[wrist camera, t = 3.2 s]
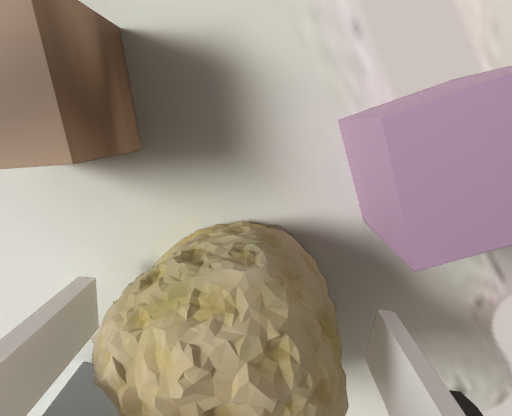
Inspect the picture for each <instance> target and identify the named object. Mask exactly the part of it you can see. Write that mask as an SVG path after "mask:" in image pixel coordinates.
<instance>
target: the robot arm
mask: <svg viewBox="0 0 512 416" xmlns="http://www.w3.org/2000/svg"><path fill="white" fill-rule="evenodd" d="M98 328H99V324H98V309H97V293H96V278H90V277H81V276H79V277H78V278H76V279H75V280H74V281H73V282H71V283H70V284H69V285H68V286H67V287H65V288H64V289H63V290H62V291H60V292H59V293H58V294H57V295H55V296H54V297H53V298H52V299H50V300H49V301H48V302H47V303H45V304H44V305H43V306H42V307H41V308H39V309H38V310H37V311H36V312H34V313H33V314H32V315H31V316H29V317H28V318H27V319H26V320H24V321H23V322H22V323H21V324H19V325H18V326H17V327H16V328H15V329H13V330H12V331H11V332H10V333H8V334H7V335H6V336H5V337H3V338H2V339H1V340H0V416H26V415H27V414H28V413H29V411H30V410H31V409H32V408H33V407H34V405H35V404H36V403H37V402H38V401H39V399H40V398H41V397H42V396H43V395H44V393H45V392H46V391H47V390H48V389H49V387H50V386H51V385H52V384H53V382H54V381H55V380H56V379H57V378H58V376H59V375H60V374H61V373H62V372H63V370H64V369H65V368H66V367H67V366H68V364H69V363H70V362H71V361H72V359H73V358H74V357H75V356H76V355H77V353H78V352H79V351H80V350H81V349H82V347H83V346H84V345H85V344H86V343H87V341H88V340H89V339H90V338H91V336H92V335H93V334H94V333H95V332H96V330H97V329H98ZM365 359H366V361H367V363H368V366H369V368H370V371H371V373H372V375H373V378H374V380H375V382H376V385H377V387H378V389H379V392H380V394H381V396H382V399H383V401H384V403H385V406H386V408H387V410H388V413H389V415H390V416H483V415H482V413H481V412H480V411H479V409H478V408H477V407H476V406H475V405H474V404H473V403H472V402H471V401H470V400H469V399H468V398H467V397H465V396H464V395H463V394H462V393H461V392H459V391H450V390H448V389H447V387H446V386H445V384H444V383H443V381H442V380H441V379H440V377H439V376H438V374H437V373H436V371H435V370H434V368H433V367H432V365H431V364H430V363H429V361H428V360H427V358H426V357H425V355H424V354H423V352H422V351H421V349H420V348H419V347H418V345H417V344H416V342H415V341H414V339H413V338H412V336H411V335H410V334H409V332H408V331H407V329H406V328H405V326H404V325H403V323H402V322H401V320H400V319H399V318H398V316H397V315H396V313H395V312H394V311H388V310H379V309H377V313H376V317H375V321H374V325H373V328H372V332H371V336H370V340H369V344H368V347H367V351H366V355H365Z"/></svg>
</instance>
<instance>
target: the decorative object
mask: <svg viewBox="0 0 512 416" xmlns="http://www.w3.org/2000/svg"><path fill="white" fill-rule="evenodd" d="M91 339H92V341H93V343H94V347H93V354H92V363H93V368H94V371H95V378H94V383H93V385H96V386H99V387H100V388H101V389H102V390H103V391H104V393H105V394H106V396H107V397H108V399H109V400H110V401H111V402H112V403H113V404H114V406H115V408H116V410H117V411H118V414H119V416H345V415H346V412H347V410H348V407H349V406H348V399H347V392H346V374H345V372H344V370H343V368H342V365H341V354H342V347H341V342H340V336H339V332H338V327H337V319H336V306H335V304H334V303H333V302H332V301H331V300H330V299H329V295H328V285H327V282H326V278H325V277H324V276H323V275H322V274H321V273H320V271H319V269H318V265H317V261H316V260H315V259H314V258H313V257H312V256H310V255H309V254H308V253H307V252H306V251H305V250H304V249H303V247H302V246H301V245H300V244H299V243H298V242H297V241H296V240H295V239H294V238H293V237H291V236H290V235H289V234H287V233H286V232H285V231H283V230H282V229H281V228H280V227H279V226H278V225H269V226H268V227H266V226H264V225H261V224H251V223H247V222H244V221H239V222H235V223H232V224H230V225H222V224H217V225H214V226H212V227H208V228H204V229H200V230H197V231H196V232H195V233H193V234H191V235H189V236H187V237H186V238H184V239H182V240H181V241H179V242H178V243H177V244H175V245H174V246H173V247H172V248H171V249H170V250H168V251H167V252H166V253H165V254H164V255H163V256H162V257H161V258H160V259H159V261H158V262H157V263H156V264H155V266H154V267H153V268H152V269H151V270H150V271H148V272H147V273H142V274H141V275H139V276H138V277H137V278H136V279H135V281H134V282H132V283H130V284H129V285H128V286H127V287H126V288H125V290H124V291H123V293H122V294H121V296H120V298H119V300H116V301H113V306H111V307H110V308H109V310H108V311H107V313H106V315H105V317H104V319H103V321H102V324H101V326H100V328H99V330H98V332H97V333H96V334H95V335H94V336H93V337H92V338H91Z"/></svg>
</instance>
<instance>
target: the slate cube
mask: <svg viewBox="0 0 512 416" xmlns="http://www.w3.org/2000/svg"><path fill="white" fill-rule="evenodd" d="M94 378H95V371H94V368H93V364H90V363H87V362H83V363H82V364H81V366H80V367H79V368H78V370H77V371H76V372H75V373H74V375H73V376H72V377H71V379H70V380H69V381H68V383H67V384H66V385H65V387H64V388H63V389H62V390H61V392H60V393H59V394H58V396H57V397H56V398H55V400H54V401H53V402H52V404H51V405H50V406H49V407H48V409H47V410H46V411H45V413H44V414H43V415H42V416H119V414H118V411H117V410H116V408H115V406H114V404H113V403H112V402H111V401H110V400H109V399H108V397H107V396H106V394H105V393H104V391H103V390H102V389H101V388H100V387H99V386H96V385H93V383H94Z"/></svg>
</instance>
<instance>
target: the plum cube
mask: <svg viewBox="0 0 512 416" xmlns="http://www.w3.org/2000/svg"><path fill="white" fill-rule="evenodd" d="M338 122H339V126H340V130H341V134H342V138H343V142H344V146H345V149H346V153H347V157H348V161H349V165H350V169H351V173H352V177H353V181H354V185H355V189H356V193H357V196H358V200H359V204H360V208H361V212H362V216H363V220H364V222H365V223H366V224H367V225H368V226H369V227H370V228H371V229H372V230H373V231H374V232H375V233H376V234H377V235H378V236H379V237H380V238H381V239H382V240H383V241H384V242H385V243H386V244H387V245H388V246H389V247H390V248H391V249H392V250H393V251H394V252H395V253H396V254H397V255H398V256H399V257H400V258H401V259H402V260H403V261H404V262H405V263H406V264H407V265H408V266H409V267H410V268H411V269H412V270H413V271H414V272H415V271H419V270H423V269H426V268H430V267H434V266H437V265H441V264H445V263H448V262H452V261H456V260H459V259H463V258H466V257H470V256H474V255H477V254H481V253H485V252H488V251H492V250H496V249H499V248H503V247H507V246H510V245H512V66H508V67H504V68H500V69H496V70H491V71H487V72H483V73H479V74H474V75H470V76H466V77H462V78H457V79H453V80H450V81H448V82H445V83H442V84H439V85H436V86H434V87H431V88H427V89H425V90H422V91H419V92H416V93H413V94H410V95H408V96H405V97H402V98H399V99H396V100H394V101H391V102H388V103H385V104H382V105H379V106H377V107H374V108H371V109H368V110H365V111H362V112H359V113H357V114H354V115H351V116H348V117H345V118H342V119H339V120H338Z"/></svg>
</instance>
